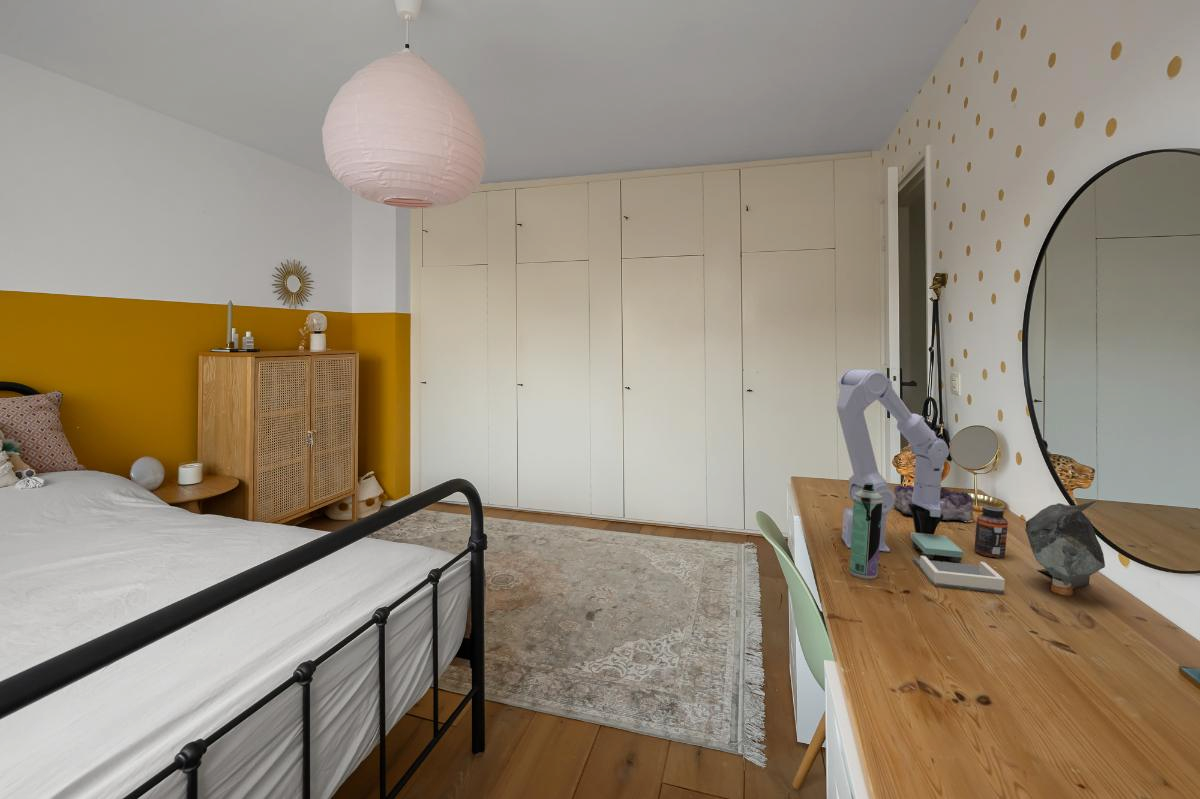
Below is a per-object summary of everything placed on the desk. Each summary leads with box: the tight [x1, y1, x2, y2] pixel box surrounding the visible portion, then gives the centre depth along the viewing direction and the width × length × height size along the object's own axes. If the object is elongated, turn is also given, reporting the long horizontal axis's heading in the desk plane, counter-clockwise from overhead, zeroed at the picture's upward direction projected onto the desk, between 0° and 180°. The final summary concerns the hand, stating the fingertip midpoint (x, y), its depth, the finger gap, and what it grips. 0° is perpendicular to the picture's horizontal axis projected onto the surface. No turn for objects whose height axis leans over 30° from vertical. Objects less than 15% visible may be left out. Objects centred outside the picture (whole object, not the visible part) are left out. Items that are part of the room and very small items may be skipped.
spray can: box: [849, 483, 882, 580], centre depth 113 cm, size 6×6×20 cm
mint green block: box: [910, 531, 964, 563], centre depth 125 cm, size 8×11×3 cm
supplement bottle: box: [973, 505, 1009, 559], centre depth 125 cm, size 6×6×11 cm
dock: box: [911, 555, 1006, 595], centre depth 113 cm, size 12×14×3 cm
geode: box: [893, 484, 975, 522], centre depth 155 cm, size 20×12×10 cm, turn 64°
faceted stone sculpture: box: [1024, 500, 1106, 597], centre depth 107 cm, size 14×15×18 cm
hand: (923, 536), depth 133 cm, fingers open, 4 cm apart
